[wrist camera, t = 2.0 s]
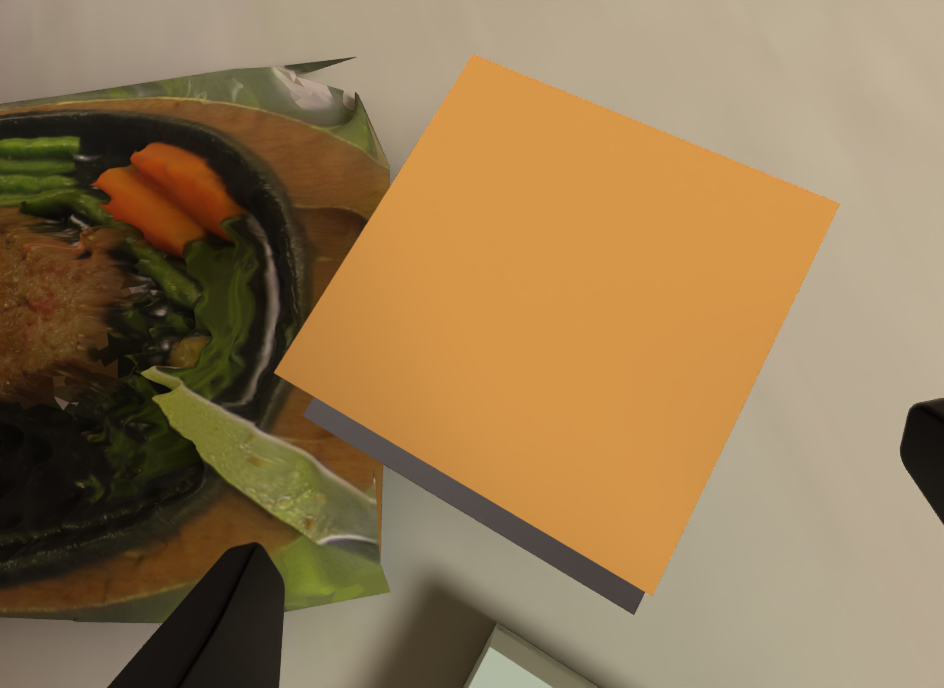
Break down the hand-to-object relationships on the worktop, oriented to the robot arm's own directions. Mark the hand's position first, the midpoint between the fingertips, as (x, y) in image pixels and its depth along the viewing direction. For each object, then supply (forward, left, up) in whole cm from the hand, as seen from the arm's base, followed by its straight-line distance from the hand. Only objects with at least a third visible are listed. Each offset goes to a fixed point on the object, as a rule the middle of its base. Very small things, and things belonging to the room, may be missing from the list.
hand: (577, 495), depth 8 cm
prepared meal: (+19, +5, -10) cm, 22 cm away
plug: (+1, -1, -10) cm, 10 cm away
